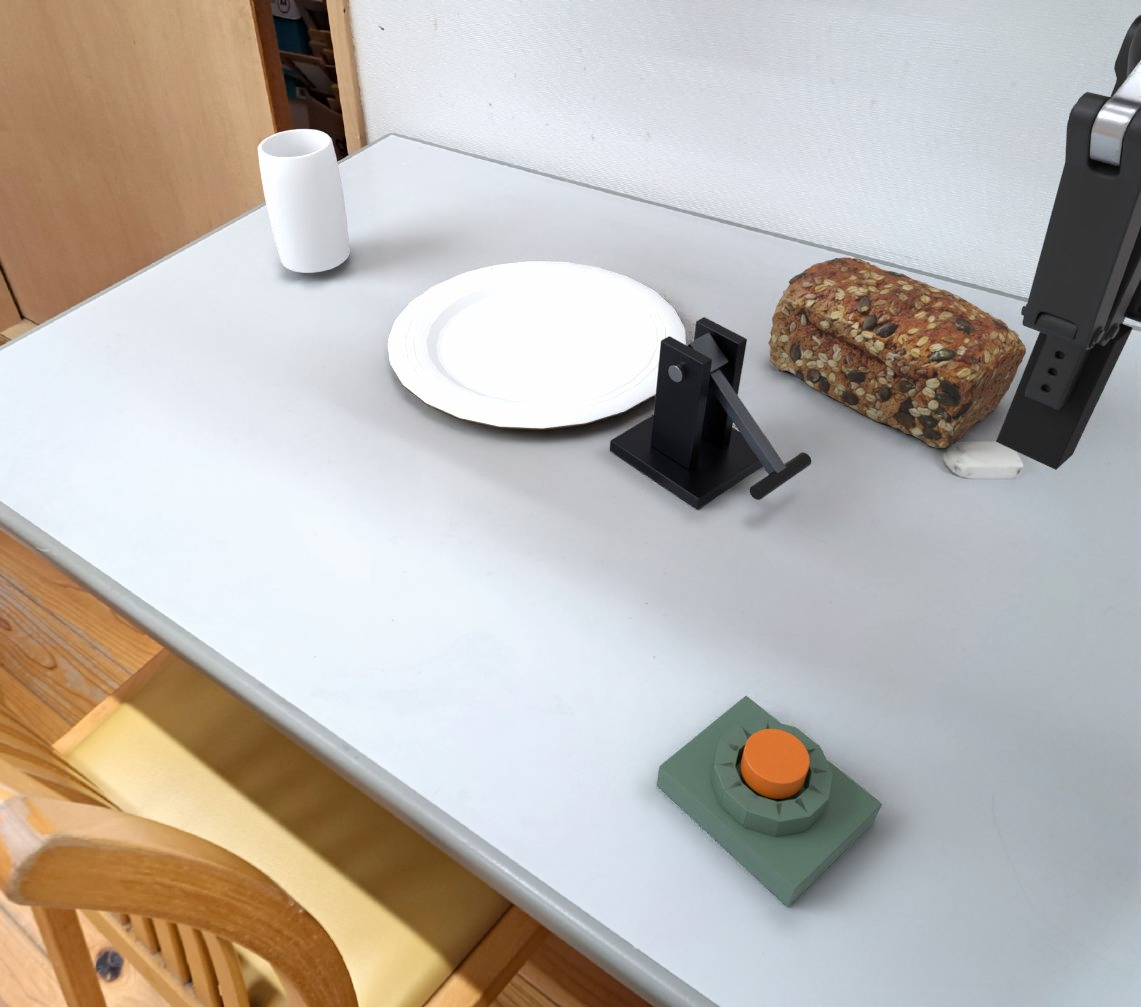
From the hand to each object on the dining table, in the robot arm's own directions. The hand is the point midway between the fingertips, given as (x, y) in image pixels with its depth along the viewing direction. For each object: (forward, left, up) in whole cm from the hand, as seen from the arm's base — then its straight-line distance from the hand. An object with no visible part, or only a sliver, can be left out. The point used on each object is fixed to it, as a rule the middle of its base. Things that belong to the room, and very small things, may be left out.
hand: (1034, 447), depth 43 cm
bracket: (+28, -13, -25) cm, 40 cm away
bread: (+23, -33, -26) cm, 47 cm away
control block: (+3, +9, -25) cm, 27 cm away
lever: (+25, -13, -19) cm, 34 cm away
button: (+3, +8, -22) cm, 24 cm away
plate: (+49, -14, -26) cm, 57 cm away
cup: (+79, -7, -26) cm, 83 cm away
